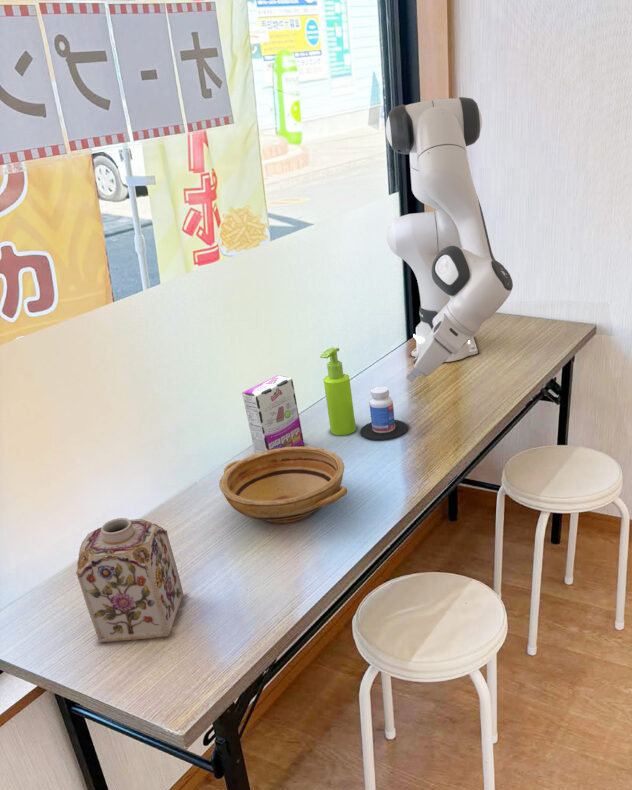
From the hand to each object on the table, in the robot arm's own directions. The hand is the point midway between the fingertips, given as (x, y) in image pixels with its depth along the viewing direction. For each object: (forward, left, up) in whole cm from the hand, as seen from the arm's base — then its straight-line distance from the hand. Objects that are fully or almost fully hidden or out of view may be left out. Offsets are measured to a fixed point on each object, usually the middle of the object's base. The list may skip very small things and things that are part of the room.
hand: (412, 371), depth 190 cm
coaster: (0, -8, -14) cm, 16 cm away
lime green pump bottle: (0, -18, -15) cm, 23 cm away
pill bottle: (0, -8, -14) cm, 16 cm away
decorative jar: (+73, -35, -15) cm, 82 cm away
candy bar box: (+11, -30, -15) cm, 35 cm away
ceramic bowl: (+37, -21, -15) cm, 44 cm away
